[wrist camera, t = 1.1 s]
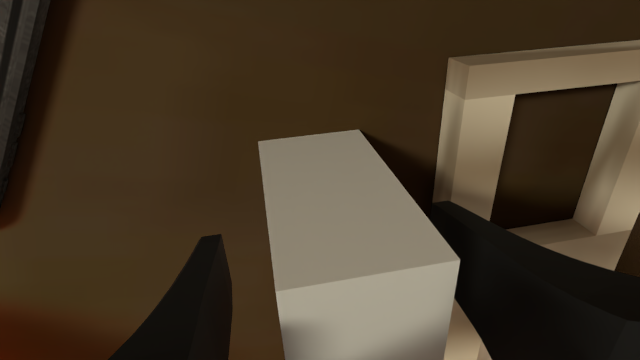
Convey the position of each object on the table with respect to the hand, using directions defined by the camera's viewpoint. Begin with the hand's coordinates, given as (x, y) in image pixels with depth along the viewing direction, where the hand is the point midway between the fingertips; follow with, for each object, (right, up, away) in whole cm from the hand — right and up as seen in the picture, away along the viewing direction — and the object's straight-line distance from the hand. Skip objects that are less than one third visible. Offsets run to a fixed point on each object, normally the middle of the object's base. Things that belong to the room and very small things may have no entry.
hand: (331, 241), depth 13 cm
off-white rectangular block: (-1, +2, +3) cm, 4 cm away
